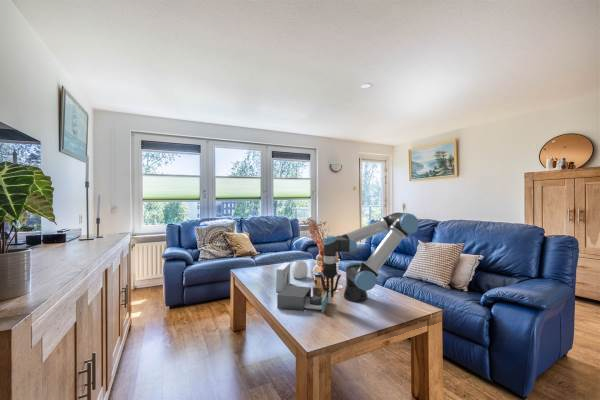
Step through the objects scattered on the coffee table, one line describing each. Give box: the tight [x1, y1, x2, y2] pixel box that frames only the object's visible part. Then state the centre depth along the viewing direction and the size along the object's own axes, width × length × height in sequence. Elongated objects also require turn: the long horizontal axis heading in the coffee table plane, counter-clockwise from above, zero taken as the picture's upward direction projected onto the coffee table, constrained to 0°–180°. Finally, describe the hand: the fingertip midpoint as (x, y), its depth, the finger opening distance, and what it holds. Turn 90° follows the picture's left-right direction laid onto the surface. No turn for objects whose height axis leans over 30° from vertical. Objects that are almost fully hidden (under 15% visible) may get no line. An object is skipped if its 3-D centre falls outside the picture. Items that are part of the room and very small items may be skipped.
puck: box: [310, 296, 323, 305], centre depth 158 cm, size 8×8×2 cm
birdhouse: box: [304, 291, 329, 314], centre depth 159 cm, size 16×18×7 cm
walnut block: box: [312, 285, 322, 297], centre depth 172 cm, size 4×4×7 cm
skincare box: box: [275, 262, 291, 293], centre depth 193 cm, size 21×6×16 cm, turn 168°
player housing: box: [276, 285, 312, 312], centre depth 162 cm, size 16×18×8 cm
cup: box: [291, 259, 309, 280], centre depth 217 cm, size 13×13×14 cm
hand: (330, 302), depth 156 cm, fingers closed
